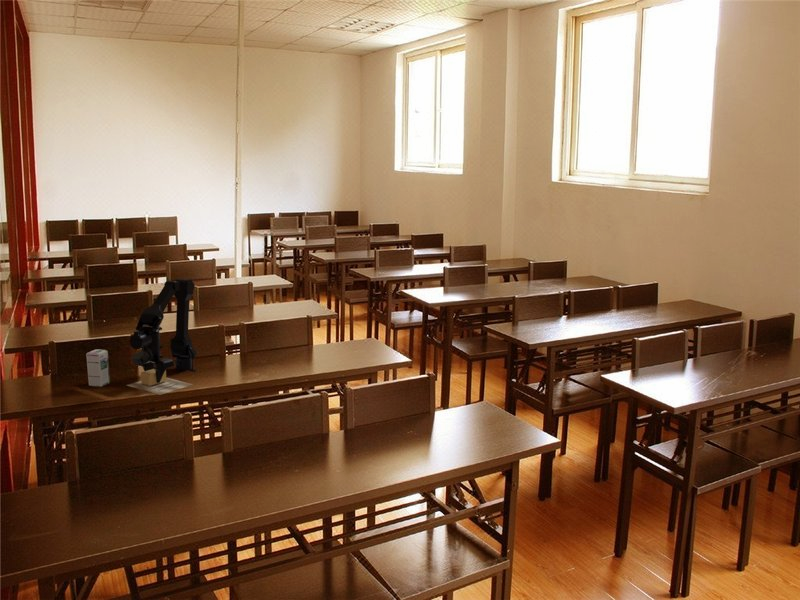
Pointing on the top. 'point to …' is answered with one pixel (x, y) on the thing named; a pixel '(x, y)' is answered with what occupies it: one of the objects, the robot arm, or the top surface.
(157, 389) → the grey patterned flat panel
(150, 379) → the sanding block
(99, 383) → the syrup box
